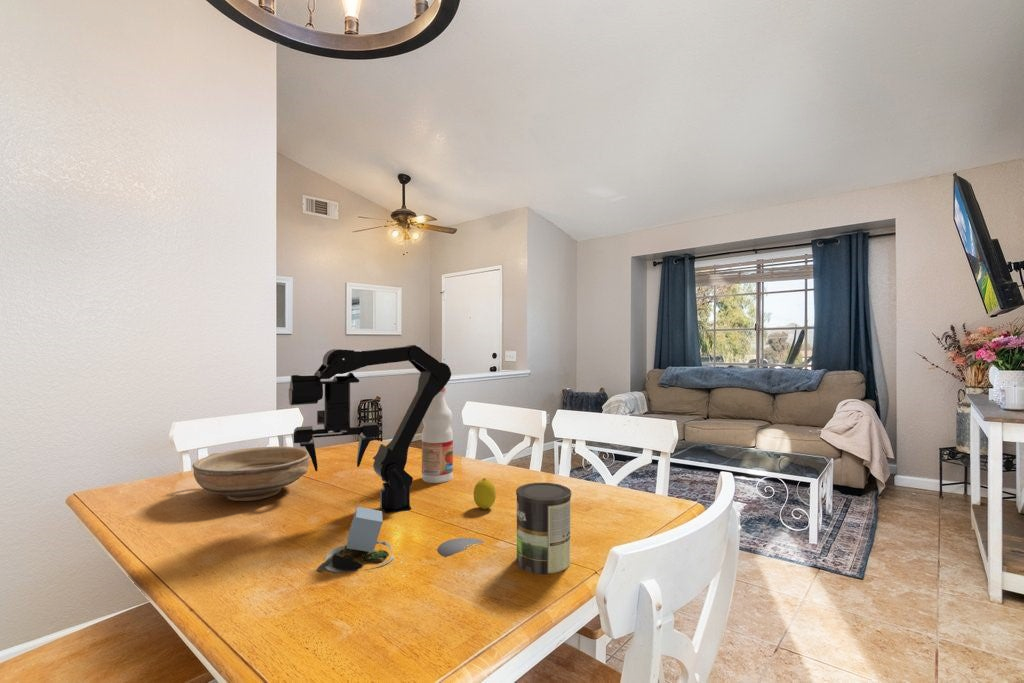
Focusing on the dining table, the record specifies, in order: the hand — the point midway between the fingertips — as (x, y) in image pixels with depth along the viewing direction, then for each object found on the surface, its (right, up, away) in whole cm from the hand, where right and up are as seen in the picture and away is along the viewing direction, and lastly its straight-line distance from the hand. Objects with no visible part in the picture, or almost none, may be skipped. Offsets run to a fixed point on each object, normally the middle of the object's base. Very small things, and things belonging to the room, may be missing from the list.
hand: (337, 468), depth 112 cm
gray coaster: (+31, -12, -17) cm, 37 cm away
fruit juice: (+18, -12, +33) cm, 40 cm away
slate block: (+12, -9, -20) cm, 25 cm away
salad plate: (+11, -13, -19) cm, 26 cm away
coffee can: (+47, -12, -23) cm, 54 cm away
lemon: (+34, -12, +6) cm, 37 cm away
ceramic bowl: (-30, -12, +20) cm, 38 cm away
